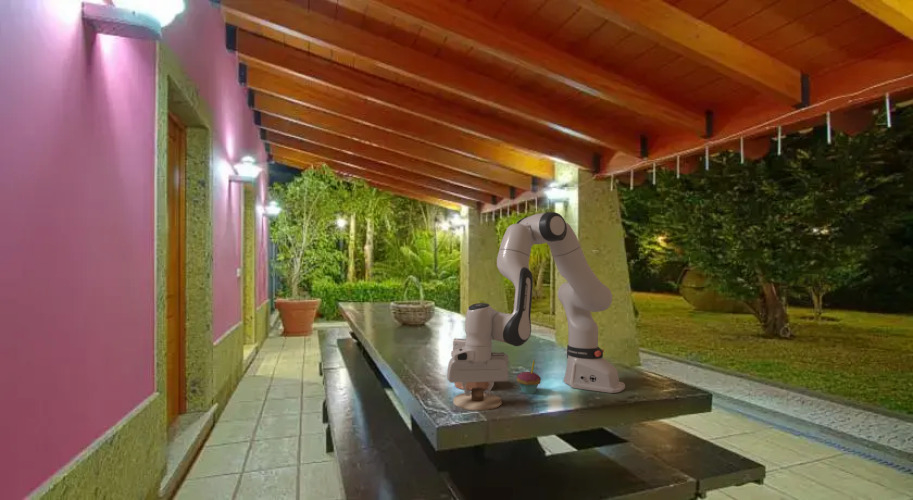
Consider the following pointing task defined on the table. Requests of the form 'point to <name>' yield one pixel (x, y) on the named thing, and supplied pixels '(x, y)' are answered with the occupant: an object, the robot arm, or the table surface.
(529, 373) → the cupcake
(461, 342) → the syrup box
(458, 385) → the pot
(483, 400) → the lid
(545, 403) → the table surface
